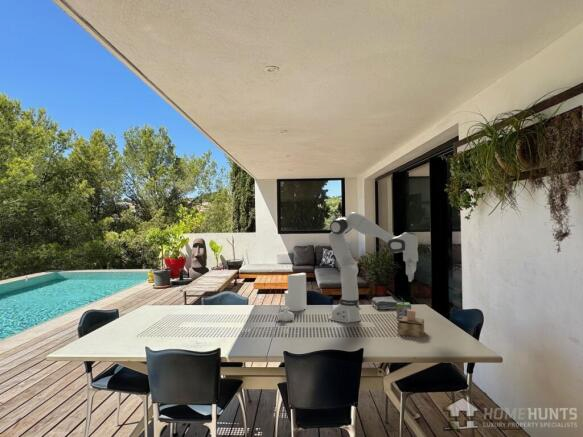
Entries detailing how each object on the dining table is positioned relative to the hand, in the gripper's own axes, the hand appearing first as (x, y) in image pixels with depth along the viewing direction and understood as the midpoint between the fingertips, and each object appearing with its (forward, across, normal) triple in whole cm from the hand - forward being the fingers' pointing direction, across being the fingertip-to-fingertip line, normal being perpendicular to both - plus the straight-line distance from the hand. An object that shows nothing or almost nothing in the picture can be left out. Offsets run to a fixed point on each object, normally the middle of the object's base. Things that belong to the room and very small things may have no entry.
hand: (411, 280), depth 213 cm
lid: (+24, -6, -7) cm, 25 cm away
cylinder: (+31, +21, +91) cm, 98 cm away
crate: (+31, -6, 0) cm, 32 cm away
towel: (+32, +53, +27) cm, 67 cm away
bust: (+31, -14, +82) cm, 89 cm away
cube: (+23, -6, 0) cm, 23 cm away
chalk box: (+31, +22, +8) cm, 39 cm away
